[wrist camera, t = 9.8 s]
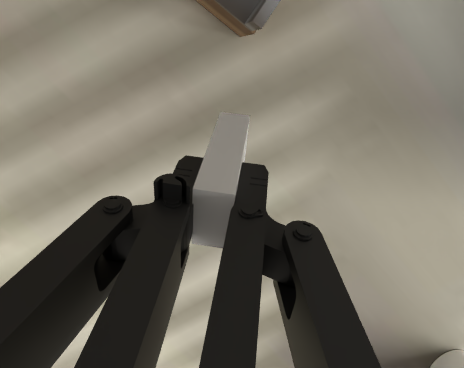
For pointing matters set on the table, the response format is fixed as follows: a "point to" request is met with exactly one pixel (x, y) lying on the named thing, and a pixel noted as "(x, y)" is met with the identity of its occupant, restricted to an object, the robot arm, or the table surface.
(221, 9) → the guide sleeve
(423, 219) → the table surface
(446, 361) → the cylindrical container
